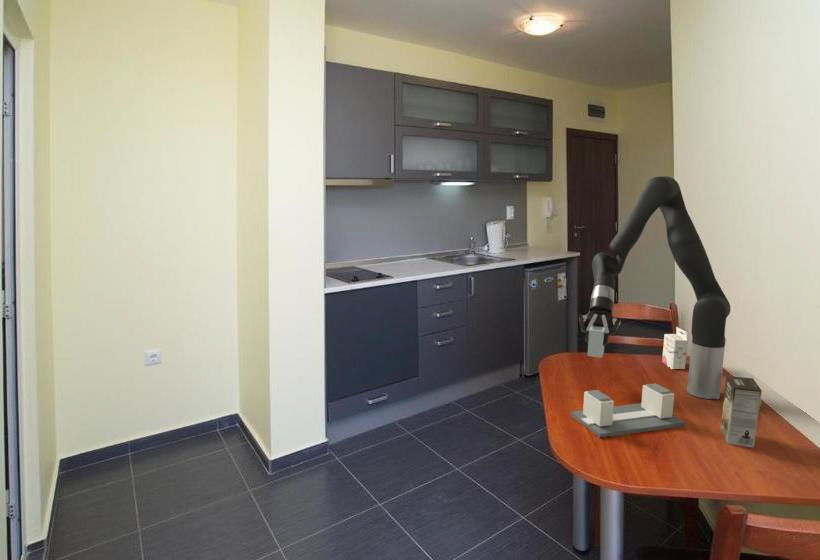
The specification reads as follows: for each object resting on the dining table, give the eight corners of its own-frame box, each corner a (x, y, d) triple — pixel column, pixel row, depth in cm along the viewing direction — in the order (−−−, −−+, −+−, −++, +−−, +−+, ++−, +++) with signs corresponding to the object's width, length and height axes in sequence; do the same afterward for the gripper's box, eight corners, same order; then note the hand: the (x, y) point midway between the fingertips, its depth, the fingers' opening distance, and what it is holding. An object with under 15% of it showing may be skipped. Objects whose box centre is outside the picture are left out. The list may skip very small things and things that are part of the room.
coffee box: (719, 428, 136) (725, 374, 134) (746, 432, 134) (752, 377, 131) (726, 444, 128) (733, 386, 125) (755, 448, 126) (763, 390, 123)
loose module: (603, 351, 166) (605, 326, 164) (601, 357, 159) (603, 331, 158) (589, 349, 168) (591, 324, 166) (587, 355, 161) (589, 329, 160)
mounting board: (650, 405, 151) (650, 400, 151) (685, 426, 138) (686, 420, 138) (570, 415, 145) (571, 410, 144) (599, 437, 131) (600, 432, 131)
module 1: (594, 412, 143) (596, 388, 142) (612, 424, 135) (614, 399, 134) (582, 414, 142) (584, 389, 141) (599, 426, 134) (601, 400, 133)
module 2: (652, 405, 148) (654, 382, 146) (672, 417, 140) (674, 392, 139) (641, 406, 147) (643, 383, 146) (660, 418, 139) (662, 393, 138)
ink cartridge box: (660, 362, 191) (664, 326, 188) (673, 362, 191) (677, 326, 188) (672, 370, 182) (675, 332, 180) (685, 370, 182) (689, 332, 180)
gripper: (580, 293, 170) (573, 335, 161) (624, 297, 164) (619, 341, 155) (581, 305, 176) (574, 346, 167) (624, 309, 169) (619, 352, 161)
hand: (596, 343), depth 161 cm, fingers closed on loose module, 4 cm apart
